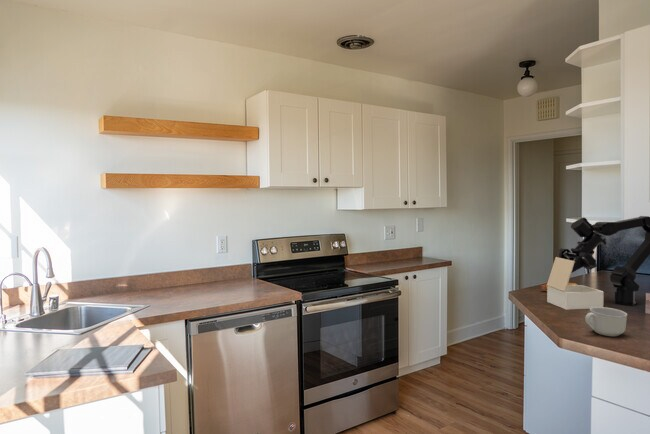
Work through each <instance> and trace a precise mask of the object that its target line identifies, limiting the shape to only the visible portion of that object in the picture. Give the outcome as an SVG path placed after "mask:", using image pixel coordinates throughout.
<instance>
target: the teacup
mask: <svg viewBox="0 0 650 434" xmlns="http://www.w3.org/2000/svg"><path fill="white" fill-rule="evenodd" d="M627 318H628V313H627V312H625V311H623V310H620V309H617V308H611V307H607V306H605V307H604V306H603V307H592V308H590V309H589V312H588V313H587V314H586V315H585V318H584V320H585V322H586V324H587V325H588V326H590V328H591V329H592V330H593V331H594V332H595V333H596V334H599V335H602V336H606V337H618V336H620V335H622V334H623V333H624V332H625V331H626V328H627V327H626V326H627Z"/></svg>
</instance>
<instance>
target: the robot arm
mask: <svg viewBox="0 0 650 434" xmlns="http://www.w3.org/2000/svg"><path fill="white" fill-rule="evenodd" d="M634 228H641V229H642V230H643V231H644V232H645V233H644V240H643V242H642V243H641V244H640V245H639V246H638V248H637V249H636V250H635V251H634V252H633V254H631V256H630V257H629V259H628V260H627V262H626V263H624V264H623V265H622V266H619V265H616V266H615V267H614V269H613V270H612V271H610V276H609V279H610V282H611V283H612V286H613V288H614V289H615V288H616V290H615V292H614V304H618V305H626V306H634V305H635V304H637V302H636V292H638V291H639V289H640V285H639V284H638V283H637V282H636V281H635V280H636V276H637V271H638V270H639V269H640V267H641V266H642V265H643V264H644V262H645V261H646V260H647V258H649V256H650V216H647V215H646V216H645V215H640V216H637V217H633V218H632V217H631V218H627V219H621V220H617V221H597V222H595V223H594V224H591V222H589V221H588V218H586V217H581V218H580V219H577V220H575V221H573V222H572V223H571V224H570V229H571V230H573V232H575V233H576V235H577V236H578V237H579V238H583V239H582V240H581V241H578V242H576V244H577V245H576V246H575V247H574V248H573V247H572V248H570V249H569V248H565V247H564V248H562V247H561V248H560V249H559V250H558V256H557V257H558V258H563V259H567V260H572V261H575V263H574V266H573V269H572V272H571V274H573V273H574V272H576V271H577V270H580V269H582V268H584V269H586V270H587V269H588V270H593V269H595V268H597V267H598V263H597V260H596V258H595V257H594V254H595V249H596V248H597V247H598V246H599V245H604V246H605V245H607V241H606V238H605V237H602V236H606V237H608V236H609V237H610V236H613V235H616V234H617V233H619V232H620V231H624V230H629V229H634Z"/></svg>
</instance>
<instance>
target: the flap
mask: <svg viewBox="0 0 650 434" xmlns="http://www.w3.org/2000/svg"><path fill="white" fill-rule="evenodd" d="M558 257H559V256H556V257H555V258H554V261H553V265H552V268H551V271H550V273H549V277H548V281H547V283H546V284H547V285H548V286H551V287H554V288H557V289H560V290H563V291H566V288H567V285H568V283H570V278H571V275H572V273H571V272H572V269H573V266H574V263H575V261H574V260H573V261H572V260H567V259H563V258H558Z"/></svg>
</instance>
